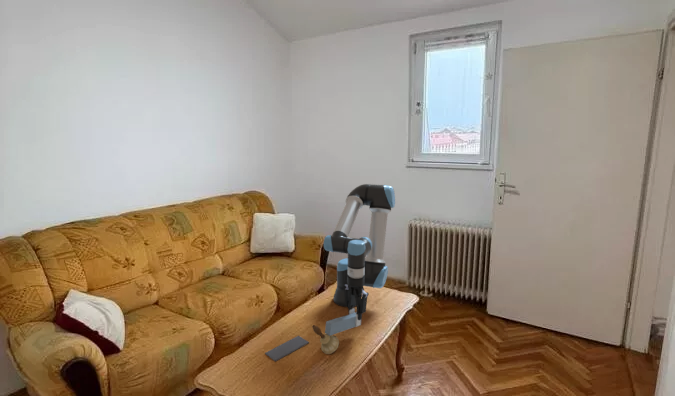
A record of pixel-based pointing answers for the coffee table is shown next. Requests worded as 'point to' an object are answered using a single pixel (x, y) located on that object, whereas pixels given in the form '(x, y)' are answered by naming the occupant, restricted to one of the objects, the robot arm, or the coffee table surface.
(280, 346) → the mat
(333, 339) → the hand bell
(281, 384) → the coffee table surface
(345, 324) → the stick
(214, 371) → the coffee table surface
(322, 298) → the coffee table surface
